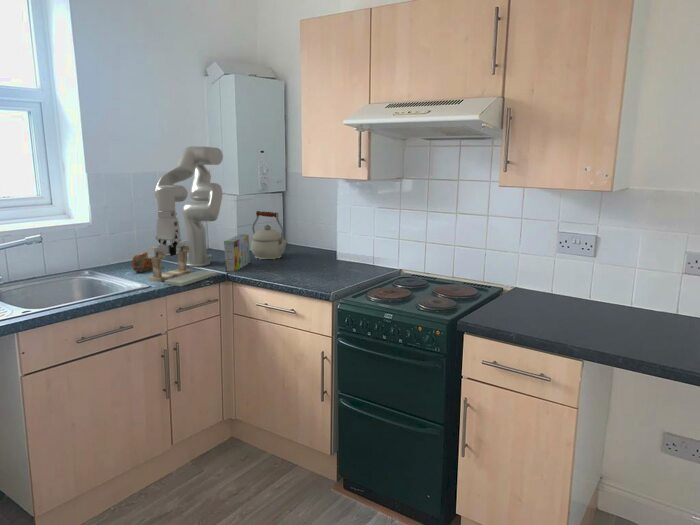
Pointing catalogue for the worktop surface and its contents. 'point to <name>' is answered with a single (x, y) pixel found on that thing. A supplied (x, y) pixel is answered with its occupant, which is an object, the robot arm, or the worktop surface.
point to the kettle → (267, 240)
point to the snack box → (237, 252)
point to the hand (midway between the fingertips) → (169, 254)
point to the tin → (142, 262)
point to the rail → (165, 248)
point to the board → (190, 278)
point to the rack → (161, 276)
